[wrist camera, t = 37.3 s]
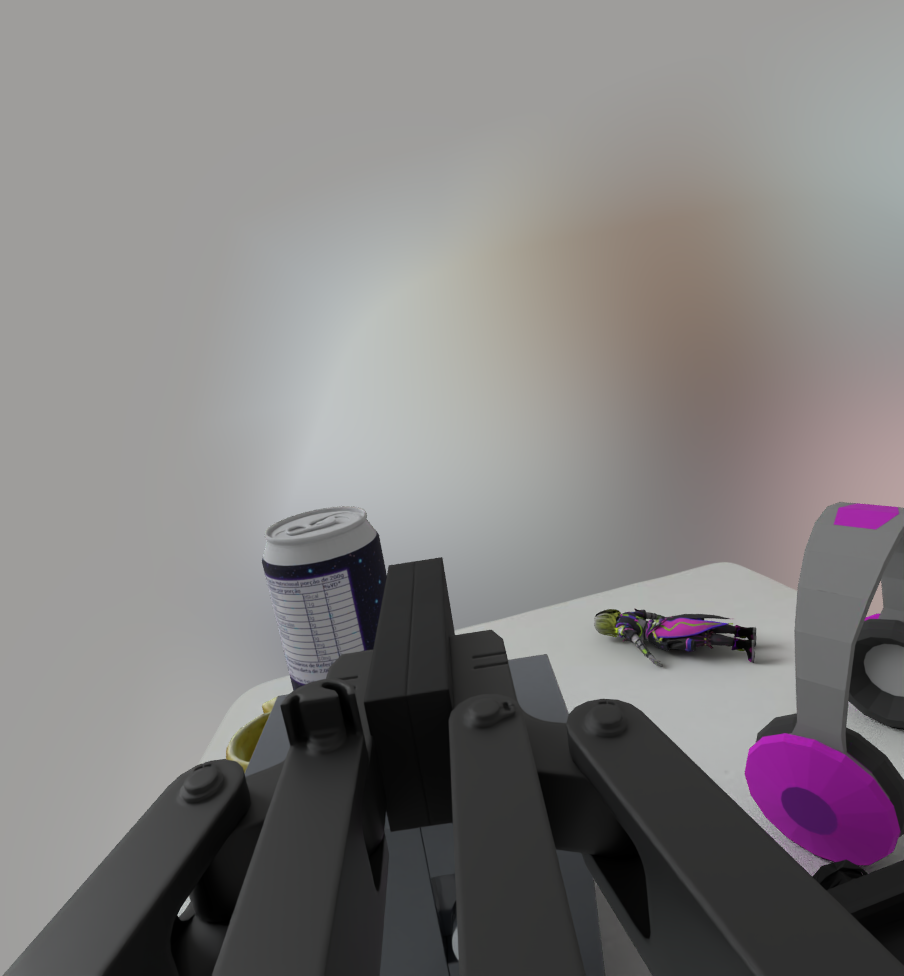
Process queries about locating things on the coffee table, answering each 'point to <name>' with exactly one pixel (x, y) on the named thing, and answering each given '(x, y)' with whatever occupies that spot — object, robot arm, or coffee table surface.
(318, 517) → the beverage can
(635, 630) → the character figure
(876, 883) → the camera
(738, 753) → the coffee table surface
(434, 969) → the cabinet
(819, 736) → the headphones
